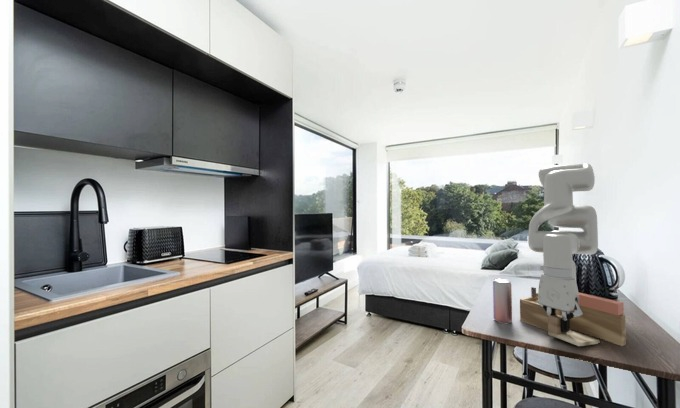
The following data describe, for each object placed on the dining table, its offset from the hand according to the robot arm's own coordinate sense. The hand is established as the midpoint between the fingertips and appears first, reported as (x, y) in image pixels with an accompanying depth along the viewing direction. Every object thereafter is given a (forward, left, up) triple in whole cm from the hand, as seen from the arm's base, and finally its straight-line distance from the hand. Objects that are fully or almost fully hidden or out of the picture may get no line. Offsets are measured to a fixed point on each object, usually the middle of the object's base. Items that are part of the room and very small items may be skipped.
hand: (559, 329), depth 92 cm
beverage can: (+4, -17, -3) cm, 18 cm away
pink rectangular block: (-12, +3, +6) cm, 14 cm away
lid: (-2, +3, -2) cm, 4 cm away
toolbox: (-9, -2, -3) cm, 9 cm away
